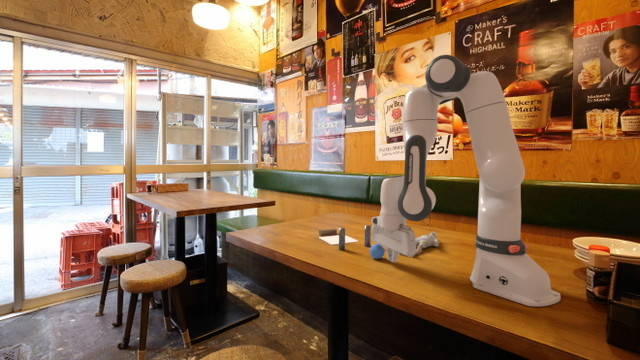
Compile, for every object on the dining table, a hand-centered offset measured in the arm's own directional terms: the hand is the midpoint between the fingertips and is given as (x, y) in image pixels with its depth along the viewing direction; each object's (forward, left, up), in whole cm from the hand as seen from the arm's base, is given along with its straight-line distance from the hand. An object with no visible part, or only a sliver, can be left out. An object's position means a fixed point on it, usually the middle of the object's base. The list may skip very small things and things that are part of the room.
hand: (392, 261), depth 107 cm
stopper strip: (+51, 0, -2) cm, 51 cm away
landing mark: (+40, 0, -2) cm, 40 cm away
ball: (+9, 0, +1) cm, 9 cm away
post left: (+25, +6, -2) cm, 26 cm away
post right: (+25, -6, -2) cm, 26 cm away
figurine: (+13, -25, -2) cm, 29 cm away
